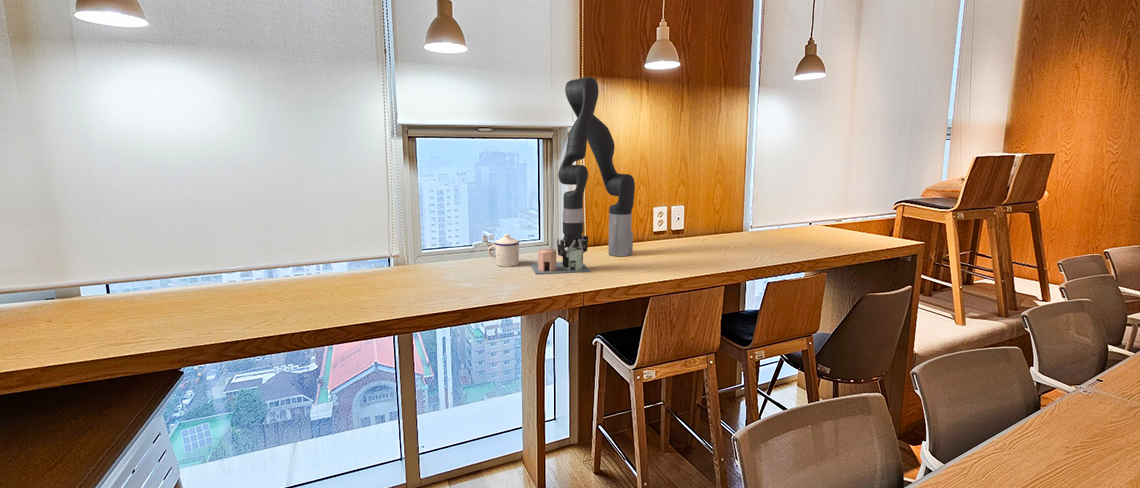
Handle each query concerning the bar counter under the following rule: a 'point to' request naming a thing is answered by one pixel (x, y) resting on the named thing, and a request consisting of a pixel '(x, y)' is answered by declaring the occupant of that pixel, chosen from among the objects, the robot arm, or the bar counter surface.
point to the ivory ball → (572, 264)
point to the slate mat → (558, 269)
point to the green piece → (575, 258)
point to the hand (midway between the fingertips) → (572, 265)
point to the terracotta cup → (547, 259)
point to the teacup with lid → (506, 251)
